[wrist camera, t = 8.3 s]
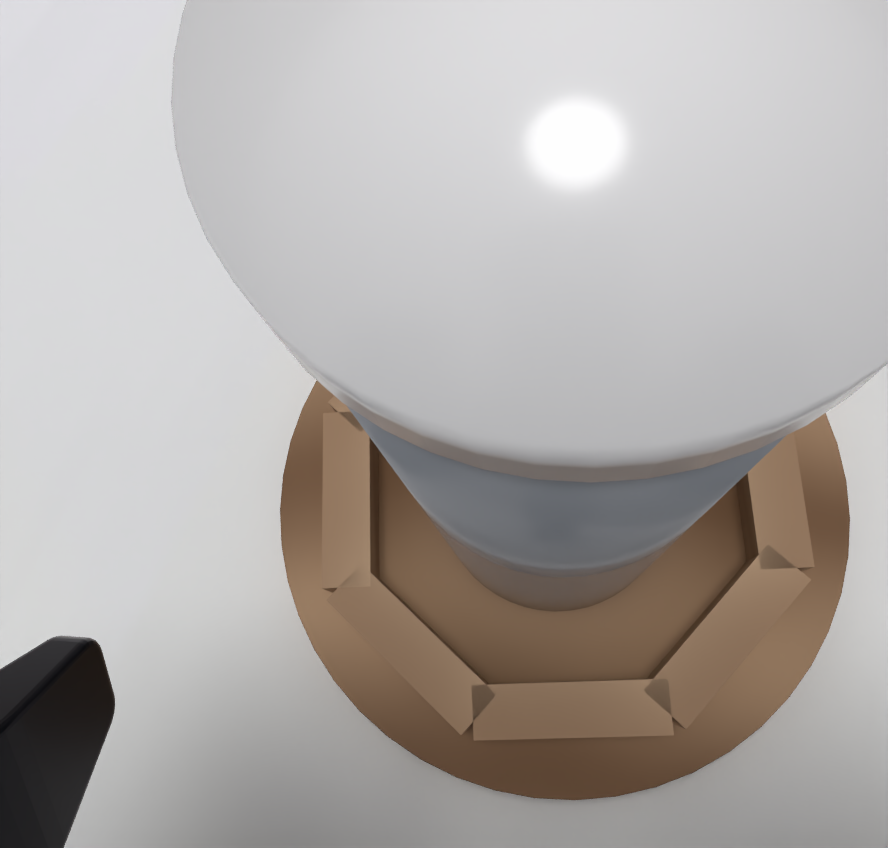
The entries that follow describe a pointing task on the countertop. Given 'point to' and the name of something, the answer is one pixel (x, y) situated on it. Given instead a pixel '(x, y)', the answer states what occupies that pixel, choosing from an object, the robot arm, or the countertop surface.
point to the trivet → (562, 622)
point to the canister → (553, 245)
